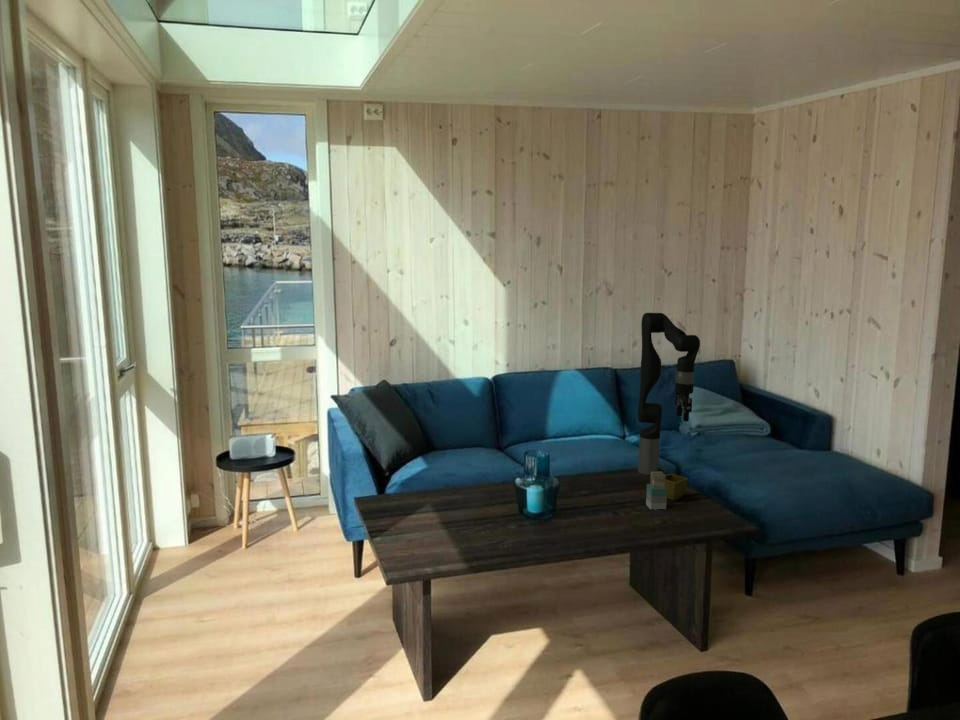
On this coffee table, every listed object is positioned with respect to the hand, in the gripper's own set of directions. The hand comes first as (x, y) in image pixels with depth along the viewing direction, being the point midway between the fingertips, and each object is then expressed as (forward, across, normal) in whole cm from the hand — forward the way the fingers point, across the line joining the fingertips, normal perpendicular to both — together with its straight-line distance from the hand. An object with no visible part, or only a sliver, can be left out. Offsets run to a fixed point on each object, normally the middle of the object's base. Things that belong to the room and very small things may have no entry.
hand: (682, 418), depth 329 cm
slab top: (+27, +17, -15) cm, 36 cm away
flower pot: (+33, +7, -5) cm, 34 cm away
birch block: (+24, +17, -15) cm, 33 cm away
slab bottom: (+33, +17, -15) cm, 40 cm away
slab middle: (+30, +17, -15) cm, 38 cm away
